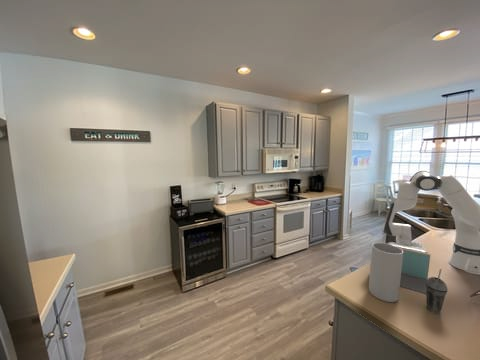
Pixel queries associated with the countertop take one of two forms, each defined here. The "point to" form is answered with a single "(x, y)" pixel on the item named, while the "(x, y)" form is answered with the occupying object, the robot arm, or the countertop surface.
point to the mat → (413, 283)
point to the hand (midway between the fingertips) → (408, 253)
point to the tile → (415, 263)
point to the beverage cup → (435, 293)
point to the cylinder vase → (385, 271)
